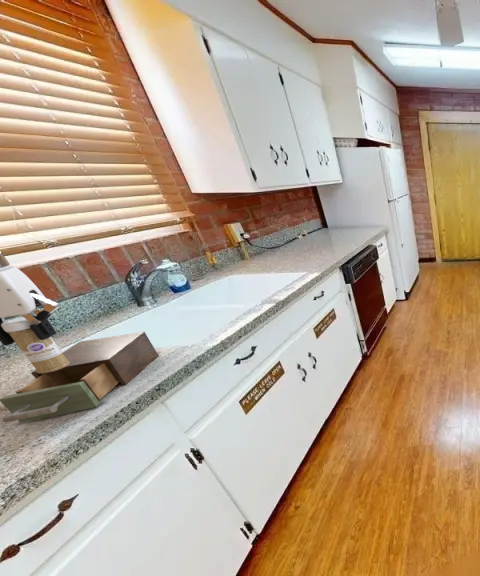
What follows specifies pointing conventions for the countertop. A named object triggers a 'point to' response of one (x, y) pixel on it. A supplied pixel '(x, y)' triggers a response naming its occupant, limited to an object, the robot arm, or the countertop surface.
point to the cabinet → (113, 355)
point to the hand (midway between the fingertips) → (31, 338)
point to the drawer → (60, 393)
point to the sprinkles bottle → (35, 346)
